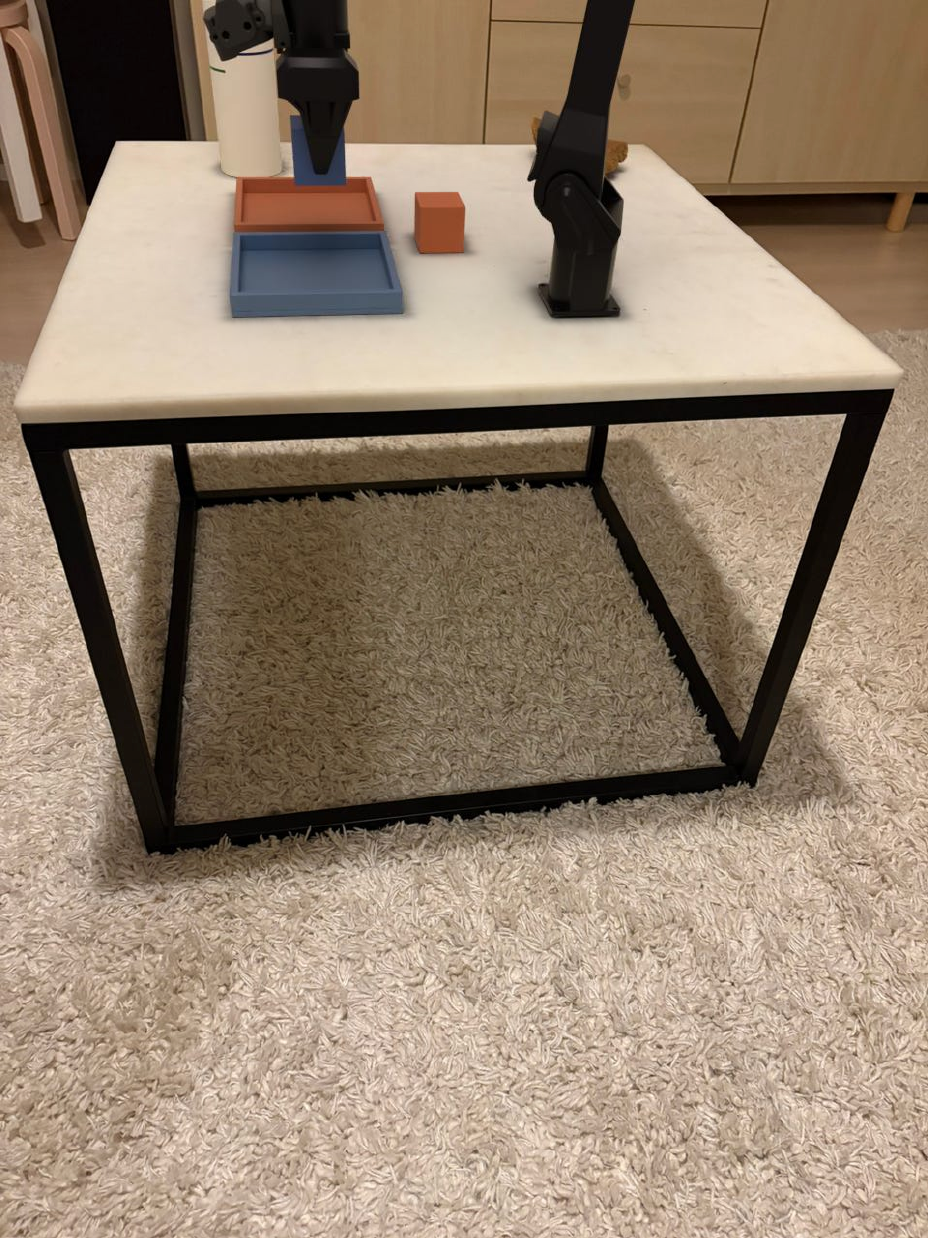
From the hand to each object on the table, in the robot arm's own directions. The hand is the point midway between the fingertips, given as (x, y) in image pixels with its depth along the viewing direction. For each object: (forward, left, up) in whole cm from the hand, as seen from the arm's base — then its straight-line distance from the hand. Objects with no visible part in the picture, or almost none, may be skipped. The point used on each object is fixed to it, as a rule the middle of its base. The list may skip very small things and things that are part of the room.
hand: (319, 165), depth 83 cm
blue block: (0, 0, -1) cm, 1 cm away
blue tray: (-2, +1, -10) cm, 10 cm away
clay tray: (+15, +1, -10) cm, 18 cm away
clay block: (+7, -12, -10) cm, 17 cm away
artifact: (+32, -33, -10) cm, 47 cm away
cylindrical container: (+32, +7, -10) cm, 35 cm away
